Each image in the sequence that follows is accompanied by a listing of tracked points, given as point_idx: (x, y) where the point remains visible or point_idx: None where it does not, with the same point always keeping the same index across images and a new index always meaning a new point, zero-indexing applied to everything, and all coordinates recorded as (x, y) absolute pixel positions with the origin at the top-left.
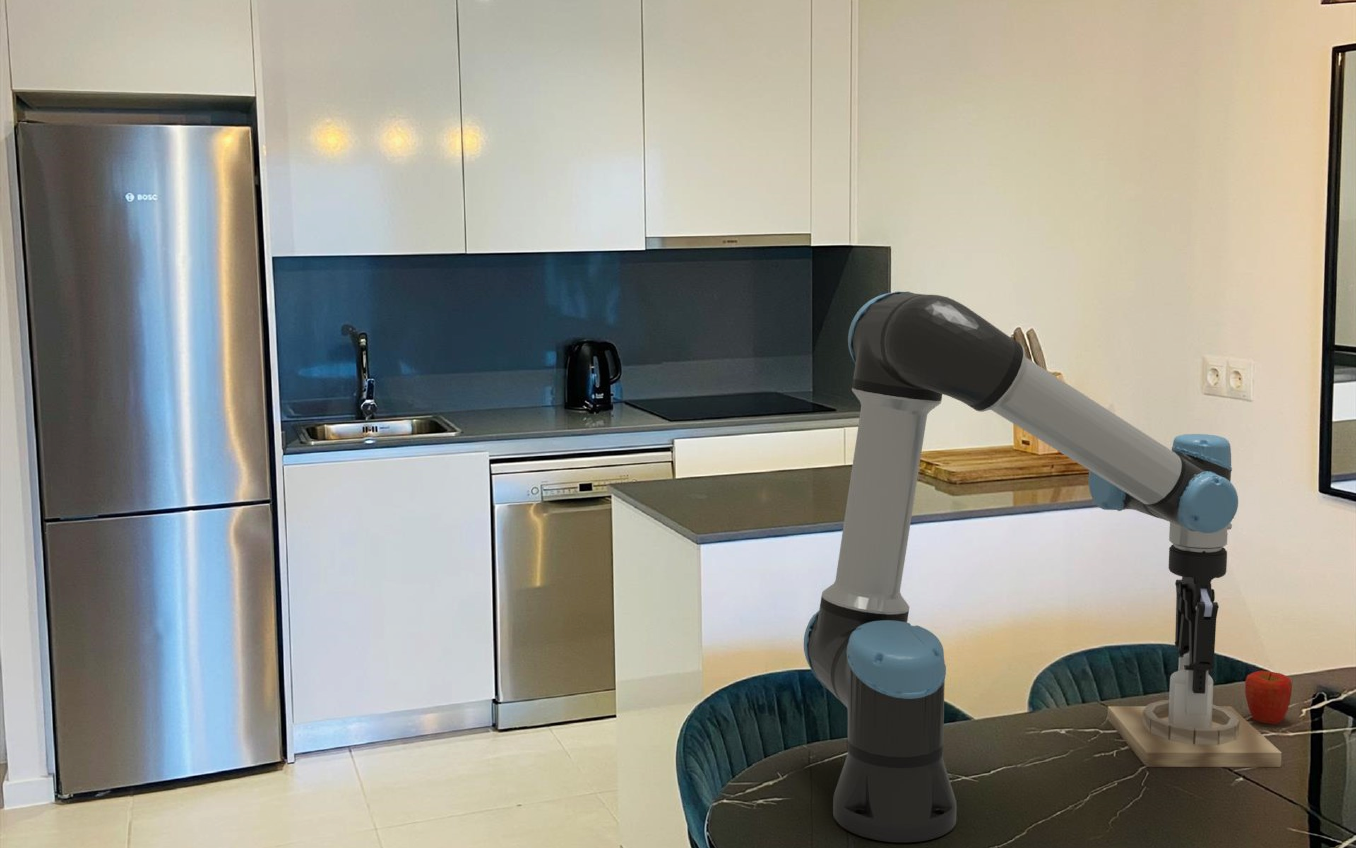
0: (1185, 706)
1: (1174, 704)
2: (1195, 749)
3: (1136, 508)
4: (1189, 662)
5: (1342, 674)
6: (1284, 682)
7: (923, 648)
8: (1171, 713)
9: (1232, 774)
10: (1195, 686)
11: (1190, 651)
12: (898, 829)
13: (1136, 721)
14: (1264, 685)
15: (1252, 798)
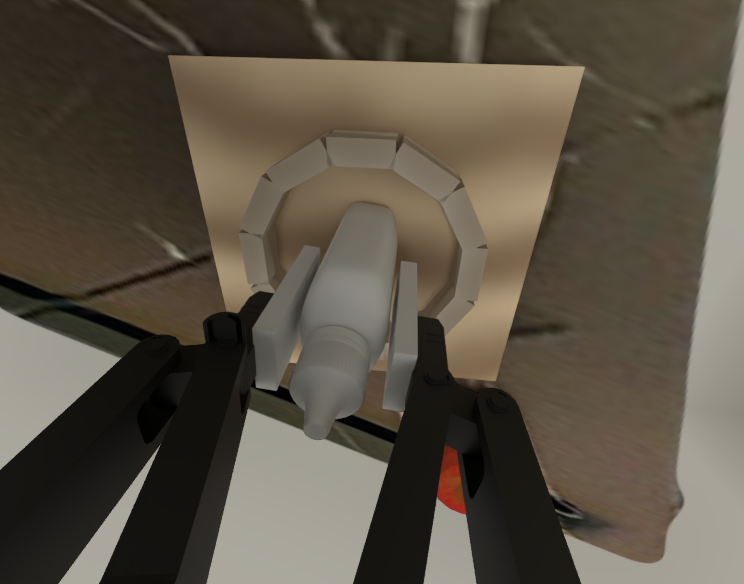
0: (314, 255)
1: (337, 232)
2: (221, 206)
3: None
4: (242, 352)
5: (641, 561)
6: (440, 498)
7: None
8: (349, 215)
9: (195, 248)
10: (243, 306)
11: (206, 392)
12: None
13: (425, 121)
14: (443, 466)
15: (83, 235)
